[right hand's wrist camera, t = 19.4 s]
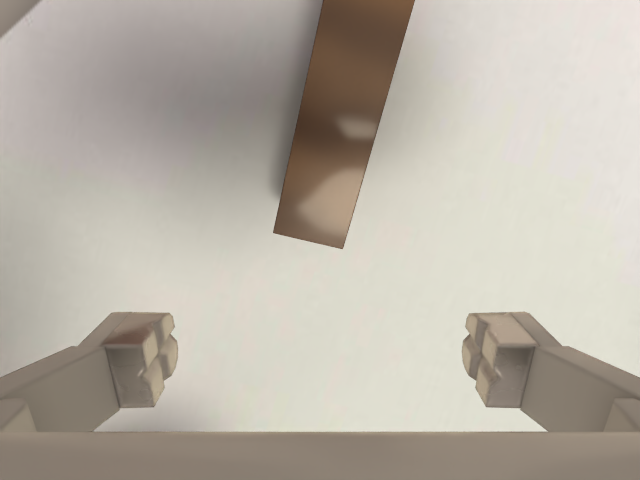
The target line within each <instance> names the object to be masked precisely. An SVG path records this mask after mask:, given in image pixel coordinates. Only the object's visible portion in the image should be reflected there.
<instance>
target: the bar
mask: <svg viewBox="0 0 640 480" xmlns="http://www.w3.org/2000/svg"><path fill="white" fill-rule="evenodd" d="M414 1H415V0H323V5H322V9H321V14H320V18H319V23H318V28H317V32H316V37H315V42H314V46H313V51H312V55H311V60H310V65H309V69H308V74H307V78H306V83H305V88H304V92H303V97H302V102H301V106H300V111H299V115H298V120H297V125H296V129H295V134H294V138H293V143H292V148H291V152H290V157H289V162H288V166H287V171H286V175H285V180H284V185H283V189H282V194H281V198H280V203H279V208H278V212H277V217H276V222H275V226H274V231H273V233H275V234H280V235H284V236H288V237H293V238H297V239H301V240H306V241H310V242H314V243H318V244H323V245H327V246H331V247H336V248H340V249H343V247H344V243H345V240H346V236H347V233H348V229H349V226H350V222H351V219H352V216H353V212H354V209H355V205H356V202H357V198H358V195H359V191H360V188H361V184H362V181H363V178H364V174H365V171H366V167H367V164H368V160H369V157H370V153H371V150H372V146H373V143H374V140H375V136H376V133H377V129H378V126H379V122H380V119H381V115H382V112H383V109H384V105H385V102H386V98H387V95H388V91H389V88H390V84H391V81H392V77H393V74H394V71H395V67H396V64H397V60H398V57H399V53H400V50H401V46H402V43H403V39H404V36H405V33H406V29H407V26H408V22H409V19H410V15H411V12H412V8H413V5H414Z"/></svg>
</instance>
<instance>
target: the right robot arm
mask: <svg viewBox="0 0 640 480" xmlns="http://www.w3.org/2000/svg"><path fill="white" fill-rule="evenodd" d="M174 327H175V326H174V321H173V316H172V315H171V314H170V313H154V312H114V313H111V314H110V315H109V316H108V317H107V318H106V319H105V320H104V321H103V322H102V323H101V324H100V325H99V326H98V327H97V328H96V329H94V330H93V331H92V332H91V333H90V334H89V335H88V336H87V337H86V338H85V339H84V340H83V341H82V342H81V343H80V344H79V345H78V346H71V347H69V348H66V349H64V350H62V351H60V352H57V353H55V354H53V355H51V356H48V357H46V358H44V359H41V360H39V361H37V362H35V363H32V364H30V365H28V366H26V367H23V368H21V369H19V370H16V371H14V372H12V373H10V374H7V375H5V376H3V377H1V378H0V480H640V378H639V377H637V376H635V375H632V374H630V373H628V372H626V371H623V370H621V369H619V368H617V367H614V366H612V365H610V364H608V363H605V362H603V361H601V360H598V359H596V358H594V357H592V356H589V355H587V354H585V353H583V352H580V351H578V350H576V349H574V348H571V347H569V346H562V345H561V344H560V343H559V342H558V341H557V340H556V339H555V338H554V337H553V336H552V335H551V334H550V333H549V332H548V331H547V330H546V329H545V328H544V327H543V326H542V325H540V324H539V323H538V322H537V321H536V320H535V319H534V318H533V317H532V316H531V315H530V314H529V313H527V312H501V313H470V314H469V315H468V317H467V320H466V326H465V327H466V329H467V330H468V332H469V333H470V334H469V335H468V336H467V337H466V338H465V339H464V340H463V346H462V358H463V364H464V367H465V370H466V372H467V373H468V375H469V376H470V377H471V378H473V379H474V380H476V387H475V388H476V390H477V392H478V394H479V395H480V397H481V399H482V401H483V402H484V404H485V406H486V407H498V408H521V409H520V410H521V411H523V412H524V413H525V414H527V415H528V416H529V417H530V418H532V419H533V420H534V421H535V422H537V423H538V424H539V425H541V426H542V427H543V428H544V429H546V430H547V431H548V432H92V431H93V430H94V429H96V428H97V427H98V426H100V425H101V424H102V423H103V422H105V421H106V420H107V419H108V418H110V417H111V416H112V415H114V414H115V413H116V412H117V411H119V408H141V407H154V406H155V404H156V402H157V401H158V399H159V397H160V395H161V394H162V392H163V390H164V388H165V387H164V380H166V379H167V378H169V377H170V376H171V375H172V373H173V371H174V370H175V367H176V363H177V359H178V345H177V340H176V339H175V338H174V337H173V336H172V335H171V334H170V333H171V332H172V330H173V329H174Z"/></svg>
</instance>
